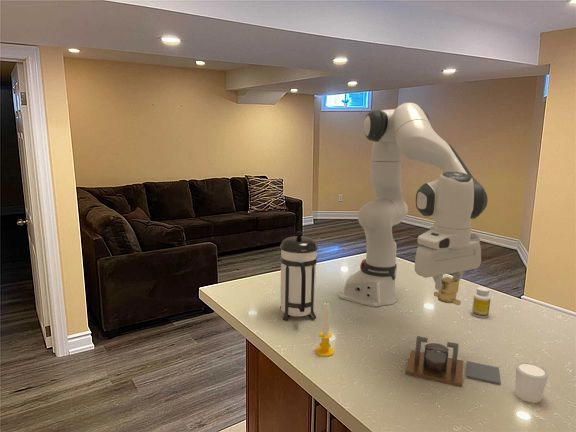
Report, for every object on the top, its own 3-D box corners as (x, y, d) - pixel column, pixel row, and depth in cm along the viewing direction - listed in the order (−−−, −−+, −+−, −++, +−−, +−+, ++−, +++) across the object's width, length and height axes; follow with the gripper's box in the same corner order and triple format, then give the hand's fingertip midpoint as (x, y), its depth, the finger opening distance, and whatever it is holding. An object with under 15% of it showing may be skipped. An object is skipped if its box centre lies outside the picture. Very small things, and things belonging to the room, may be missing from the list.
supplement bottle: (490, 319, 147) (493, 292, 145) (473, 317, 148) (476, 290, 146) (486, 312, 152) (489, 286, 150) (470, 311, 153) (473, 285, 151)
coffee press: (265, 315, 147) (265, 231, 141) (295, 302, 158) (297, 224, 153) (302, 331, 135) (305, 240, 129) (333, 316, 147) (336, 232, 141)
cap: (429, 296, 112) (431, 276, 111) (440, 293, 115) (442, 274, 114) (453, 306, 106) (455, 285, 105) (464, 303, 108) (466, 283, 107)
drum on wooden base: (405, 374, 112) (407, 345, 110) (411, 353, 123) (413, 326, 121) (462, 387, 107) (465, 357, 105) (462, 363, 117) (465, 336, 116)
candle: (315, 347, 125) (317, 297, 122) (333, 348, 125) (335, 298, 122) (316, 356, 120) (317, 305, 117) (334, 357, 120) (336, 305, 117)
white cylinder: (506, 387, 107) (509, 362, 105) (532, 386, 107) (535, 361, 106) (523, 405, 100) (527, 378, 99) (551, 403, 101) (555, 377, 99)
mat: (466, 377, 111) (466, 375, 111) (466, 362, 118) (467, 361, 118) (500, 385, 108) (500, 383, 108) (498, 369, 115) (498, 367, 115)
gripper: (469, 230, 115) (465, 279, 117) (412, 237, 106) (408, 290, 108) (490, 235, 109) (484, 286, 112) (431, 243, 100) (426, 298, 103)
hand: (446, 288), depth 110 cm, fingers closed on cap, 4 cm apart
